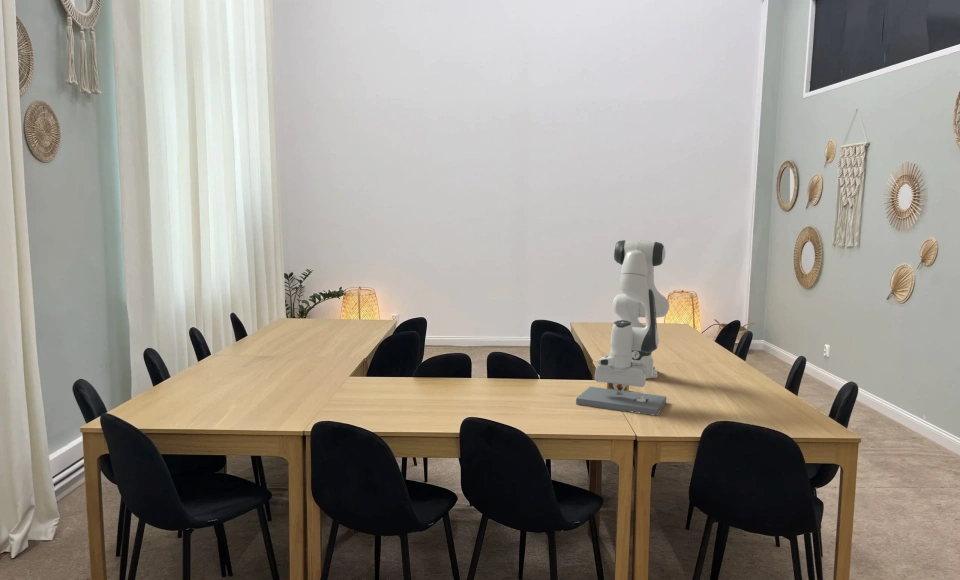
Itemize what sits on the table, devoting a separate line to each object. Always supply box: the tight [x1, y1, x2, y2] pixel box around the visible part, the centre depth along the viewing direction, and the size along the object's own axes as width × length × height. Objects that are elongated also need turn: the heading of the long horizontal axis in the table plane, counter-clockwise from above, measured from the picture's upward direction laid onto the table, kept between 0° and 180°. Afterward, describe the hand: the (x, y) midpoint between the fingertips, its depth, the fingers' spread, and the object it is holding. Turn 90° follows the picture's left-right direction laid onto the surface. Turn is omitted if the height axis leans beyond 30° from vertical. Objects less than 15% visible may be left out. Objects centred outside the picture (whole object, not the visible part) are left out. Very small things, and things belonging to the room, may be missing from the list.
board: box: [575, 386, 667, 416], centre depth 273 cm, size 20×32×2 cm, turn 65°
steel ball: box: [636, 396, 646, 402], centre depth 270 cm, size 4×4×4 cm
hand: (619, 394), depth 274 cm, fingers closed
